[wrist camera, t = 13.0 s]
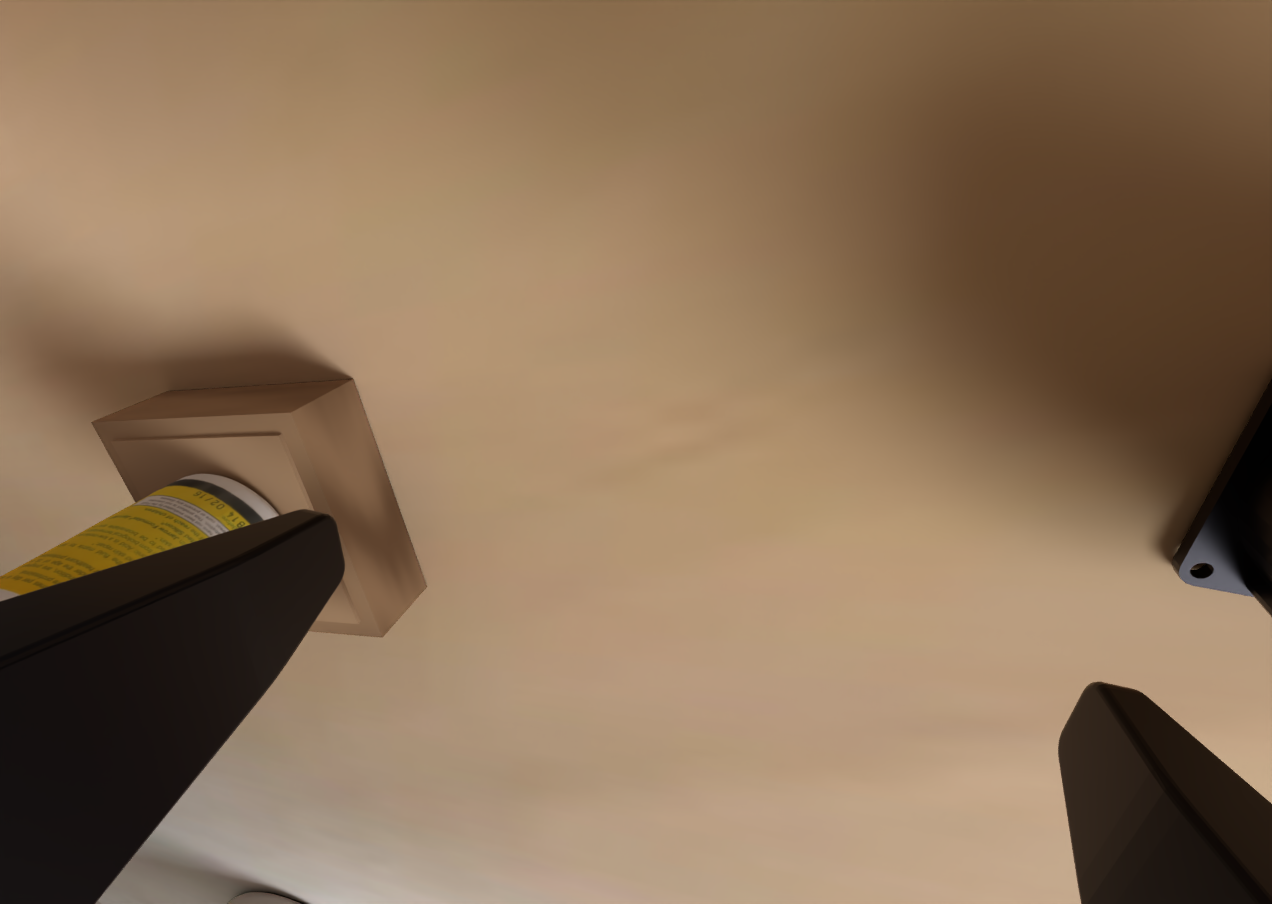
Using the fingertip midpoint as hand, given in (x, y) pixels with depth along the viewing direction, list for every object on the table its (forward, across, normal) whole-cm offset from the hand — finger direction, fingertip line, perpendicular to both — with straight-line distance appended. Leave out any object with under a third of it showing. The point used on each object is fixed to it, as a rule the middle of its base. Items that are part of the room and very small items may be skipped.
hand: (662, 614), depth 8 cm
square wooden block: (+12, +17, +9) cm, 23 cm away
